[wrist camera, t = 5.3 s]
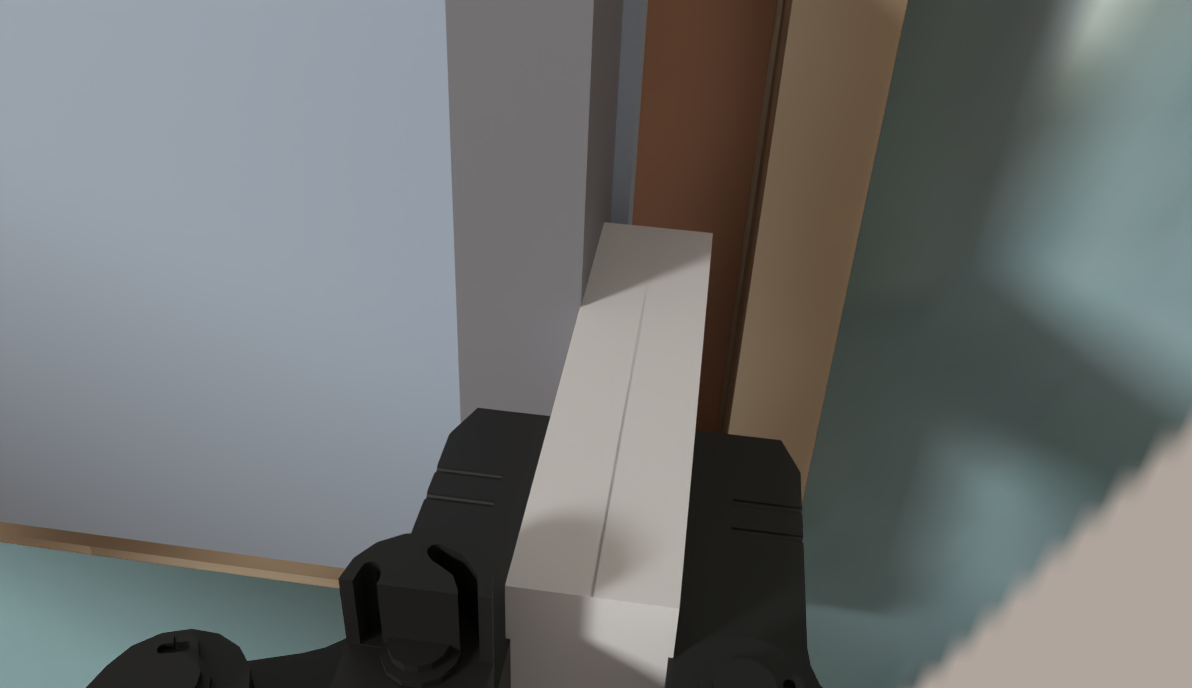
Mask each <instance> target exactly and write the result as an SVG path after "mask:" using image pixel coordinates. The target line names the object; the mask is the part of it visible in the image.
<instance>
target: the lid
mask: <svg viewBox="0 0 1192 688" xmlns="http://www.w3.org/2000/svg"><path fill="white" fill-rule="evenodd" d="M647 7H648V0H0V522H6V523H14V524H21V525H28V526H36V527H43V528H51V529H58V530H65V531H73V532H80V533H87V534H95V535H102V536H110V537H117V538H124V539H132V540H139V541H147V542H154V543H161V544H169V545H176V546H184V547H191V548H198V549H206V550H213V551H220V552H228V553H235V554H243V555H250V556H257V557H265V558H272V559H280V560H287V561H294V562H302V563H309V564H317V565H324V566H331V567H339V568H346V567H347V566H348V565H349V563H350V562H351V561H352V559H353V558H354V557H355V556H357V555H358V554H360V553H361V552H363V551H364V550H366V549H367V548H369V547H370V546H372V545H373V544H375V543H376V542H379V541H382V540H385V539H389V538H392V537H395V536H399V535H402V534H405V533H411V532H412V529H413V527H414V524H415V522H416V519H417V516H418V514H419V511H420V509H421V506H422V504H423V501H424V499H426V497H427V491H428V488H429V485H430V483H431V480H432V478H433V475H434V472H436V471H437V465H438V462H439V459H440V457H441V454H442V452H443V449H444V446H445V444H446V441H447V439H448V436H449V434H450V433H451V432H452V431H453V430H454V429H455V428H456V427H457V426H458V425H459V424H461V423H462V422H463V421H464V420H465V419H466V418H467V417H468V416H469V415H470V414H471V413H472V412H474V411H475V410H476V409H477V408H485V409H494V410H502V411H511V412H519V413H528V414H536V415H545V416H551V413H552V409H553V405H554V402H555V398H556V394H557V391H558V387H559V383H560V379H561V376H562V372H563V368H564V365H565V361H566V357H567V353H568V350H569V346H570V342H571V339H572V335H573V331H574V327H575V324H576V320H577V316H578V313H579V309H580V307H581V305H582V301H583V297H584V294H585V290H586V286H587V283H588V279H589V276H590V272H591V268H592V265H593V261H594V257H595V254H596V250H597V246H598V243H599V239H600V235H601V232H602V228H603V225H604V222H607V223H617V224H627V225H632V217H633V203H634V189H635V175H636V161H637V147H638V133H639V119H640V105H641V91H642V77H643V63H644V49H645V35H646V21H647Z"/></svg>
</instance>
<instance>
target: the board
mask: <svg viewBox="0 0 1192 688" xmlns="http://www.w3.org/2000/svg"><path fill="white" fill-rule="evenodd" d="M907 3H908V0H648V7H647V21H646V35H645V49H644V63H643V77H642V91H641V105H640V119H639V133H638V147H637V161H636V175H635V189H634V203H633V217H632V225H637V226H647V227H657V228H667V229H677V230H687V231H697V232H707V233H713V237H712V249H711V260H710V271H709V282H708V293H707V305H706V316H705V327H704V338H703V350H702V361H701V372H700V383H699V395H698V406H697V417H696V428H695V430H698V431H707V432H715V433H724V434H732V435H741V436H750V437H758V438H767V439H775V440H781V441H782V442H783V444H784V446H785V447H786V449H787V451H788V452H789V454H790V456H791V457H792V459H793V461H794V462H795V464H796V466H797V467H798V469H799V471H800V472H801V495H802V502H803V497H804V493H805V488H806V483H807V478H808V474H809V469H810V464H811V459H812V455H813V450H814V445H815V440H816V436H817V431H818V426H819V421H820V417H821V412H822V407H823V402H824V398H825V393H826V388H827V383H828V379H829V374H830V369H831V364H832V359H833V355H834V350H835V345H836V340H837V336H838V331H839V326H840V321H841V317H842V312H843V307H844V302H845V298H846V293H847V288H848V283H849V279H850V274H851V269H852V264H853V260H854V255H855V250H856V245H857V241H858V236H859V231H860V226H861V222H862V217H863V212H864V207H865V203H866V198H867V193H868V188H869V184H870V179H871V174H872V169H873V164H874V160H875V155H876V150H877V145H878V141H879V136H880V131H881V126H882V122H883V117H884V112H885V107H886V103H887V98H888V93H889V88H890V84H891V79H892V74H893V69H894V65H895V60H896V55H897V50H898V46H899V41H900V36H901V31H902V27H903V22H904V17H905V12H906V8H907ZM0 542H4V543H11V544H18V545H25V546H33V547H40V548H47V549H55V550H62V551H69V552H76V553H84V554H91V555H98V556H106V557H113V558H120V559H128V560H135V561H142V562H149V563H157V564H164V565H171V566H179V567H186V568H193V569H200V570H208V571H215V572H222V573H230V574H237V575H244V576H252V577H259V578H266V579H273V580H281V581H288V582H295V583H303V584H310V585H317V586H324V587H332V588H339V580H338V579H339V577H340V576H341V574H342V573H343V572H344V570H345V569H346V568H339V567H331V566H324V565H317V564H309V563H302V562H294V561H287V560H280V559H272V558H265V557H257V556H250V555H243V554H235V553H228V552H220V551H213V550H206V549H198V548H191V547H184V546H176V545H169V544H161V543H154V542H147V541H139V540H132V539H124V538H117V537H110V536H102V535H95V534H87V533H80V532H73V531H65V530H58V529H51V528H43V527H36V526H28V525H21V524H14V523H6V522H0ZM339 589H340V588H339Z"/></svg>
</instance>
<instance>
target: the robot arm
mask: <svg viewBox="0 0 1192 688" xmlns="http://www.w3.org/2000/svg"><path fill="white" fill-rule="evenodd" d="M712 237H713V233H707V232H697V231H687V230H677V229H667V228H657V227H647V226H637V225H627V224H617V223H607V222H604V225H603V228H602V232H601V235H600V239H599V243H598V246H597V250H596V254H595V257H594V261H593V265H592V268H591V272H590V276H589V279H588V283H587V286H586V290H585V294H584V297H583V301H582V305H581V307H580V309H579V313H578V316H577V320H576V324H575V327H574V331H573V335H572V339H571V342H570V346H569V350H568V353H567V357H566V361H565V365H564V368H563V372H562V376H561V379H560V383H559V387H558V391H557V394H556V398H555V402H554V405H553V409H552V413H551V416H545V415H536V414H528V413H519V412H511V411H502V410H494V409H485V408H477V409H476V410H475V411H474V412H472V413H471V414H470V415H469V416H468V417H467V418H466V419H465V420H464V421H463V422H462V423H461V424H459V425H458V426H457V427H456V428H455V429H454V430H453V431H452V432H451V433H450V434H449V436H448V439H447V441H446V444H445V446H444V449H443V452H442V454H441V457H440V459H439V462H438V465H437V471H436V472H434V475H433V478H432V480H431V483H430V485H429V488H428V491H427V497H426V499H424V501H423V504H422V506H421V509H420V511H419V514H418V516H417V519H416V522H415V524H414V527H413V529H412V532H411V533H405V534H402V535H399V536H395V537H392V538H389V539H385V540H382V541H379V542H376V543H375V544H373V545H372V546H370V547H369V548H367V549H366V550H364V551H363V552H361V553H360V554H358V555H357V556H355V557H354V558H353V559H352V561H351V562H350V563H349V565H348V566H347V567H346V569H345V570H344V572H343V573H342V574H341V576H340V577H339V579H338V580H339V588H340V595H341V602H342V609H343V616H344V623H345V630H346V639H344V640H342V641H339V642H337V643H335V644H332V645H330V646H328V647H326V648H322V649H318V650H314V651H309V652H305V653H301V654H294V655H287V656H280V657H273V658H266V659H259V660H252V661H247V660H246V658H245V656H244V654H243V653H242V651H241V649H240V647H239V646H237V645H236V644H234V643H233V642H231V641H230V640H228V639H227V638H225V637H223V636H222V635H220V634H218V633H212V632H206V631H201V630H195V629H189V630H181V631H174V632H167V633H161V634H159V635H156V636H154V637H152V638H149V639H147V640H145V641H142V642H140V643H138V644H135V645H133V646H131V647H130V648H129V649H127V650H126V651H125V652H124V653H122V654H121V655H120V656H118V657H117V658H116V659H115V660H113V661H112V662H111V663H110V664H108V665H107V666H106V667H105V668H104V669H103V670H102V671H101V672H100V673H99V674H98V675H97V677H96V678H95V679H94V680H93V681H92V682H91V683H90V684H89V685H88V686H87V687H86V688H822V687H821V686H820V684H819V682H818V680H817V678H816V676H815V674H814V672H813V670H812V668H811V666H810V660H809V655H808V650H807V631H806V604H805V577H804V550H803V543H802V539H803V523H802V514H801V511H802V495H801V472H800V471H799V469H798V467H797V466H796V464H795V462H794V461H793V459H792V457H791V456H790V454H789V452H788V451H787V449H786V447H785V446H784V444H783V442H782V441H781V440H775V439H767V438H758V437H750V436H741V435H732V434H724V433H715V432H707V431H698V430H695V428H696V417H697V406H698V395H699V383H700V372H701V361H702V350H703V338H704V327H705V316H706V305H707V293H708V282H709V271H710V260H711V249H712Z"/></svg>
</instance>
